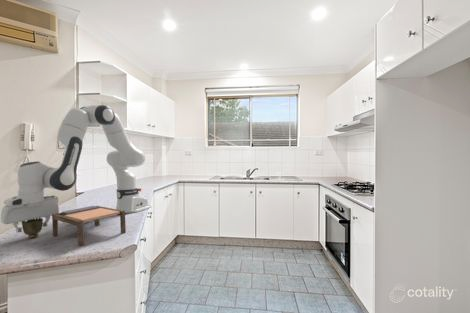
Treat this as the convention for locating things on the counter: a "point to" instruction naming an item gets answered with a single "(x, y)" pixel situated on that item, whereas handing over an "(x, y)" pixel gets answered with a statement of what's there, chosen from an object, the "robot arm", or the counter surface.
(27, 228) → the bronze rounded piece
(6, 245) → the counter surface
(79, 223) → the frame
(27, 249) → the counter surface
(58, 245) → the counter surface
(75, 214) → the trapdoor
